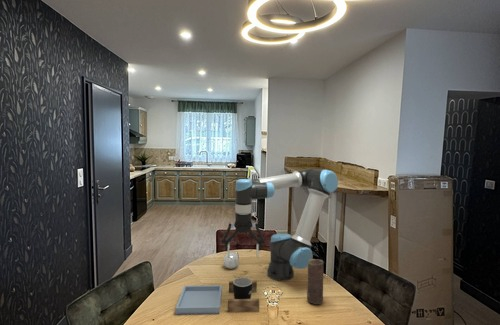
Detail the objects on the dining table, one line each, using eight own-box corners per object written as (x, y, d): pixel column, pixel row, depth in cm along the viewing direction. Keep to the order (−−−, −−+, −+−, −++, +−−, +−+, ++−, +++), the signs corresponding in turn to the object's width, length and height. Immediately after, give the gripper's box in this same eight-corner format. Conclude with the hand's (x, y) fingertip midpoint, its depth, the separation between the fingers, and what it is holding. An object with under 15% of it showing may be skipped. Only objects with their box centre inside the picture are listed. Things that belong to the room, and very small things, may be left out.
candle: (319, 308, 124) (320, 265, 123) (304, 303, 128) (305, 261, 127) (324, 300, 130) (325, 259, 129) (310, 295, 134) (310, 256, 133)
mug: (250, 308, 123) (251, 287, 122) (231, 307, 124) (231, 285, 124) (253, 294, 135) (253, 274, 134) (235, 293, 136) (236, 273, 135)
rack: (256, 290, 139) (256, 281, 138) (259, 311, 121) (259, 300, 121) (228, 291, 138) (228, 281, 138) (227, 312, 121) (227, 301, 120)
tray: (222, 290, 138) (222, 285, 138) (219, 313, 119) (219, 307, 119) (184, 291, 137) (184, 285, 137) (175, 314, 118) (175, 308, 118)
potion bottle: (226, 274, 159) (232, 266, 174) (240, 265, 158) (244, 257, 173) (218, 260, 160) (224, 253, 175) (231, 251, 160) (236, 245, 174)
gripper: (269, 210, 131) (268, 253, 133) (217, 210, 130) (217, 254, 131) (270, 214, 124) (270, 260, 125) (215, 214, 123) (215, 260, 124)
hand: (243, 257), depth 128 cm, fingers open, 13 cm apart
